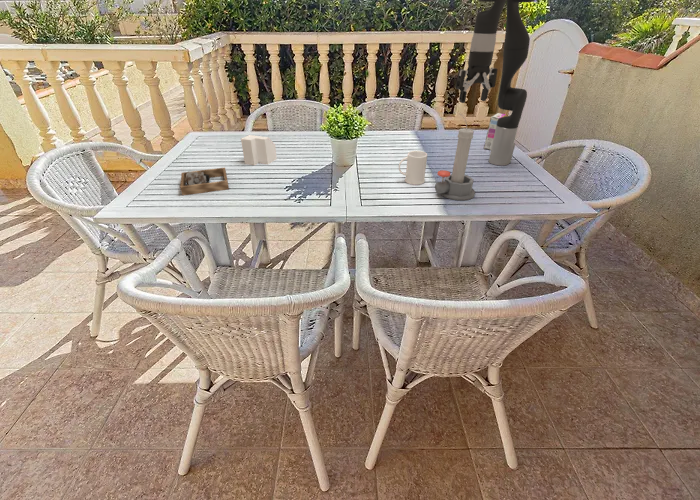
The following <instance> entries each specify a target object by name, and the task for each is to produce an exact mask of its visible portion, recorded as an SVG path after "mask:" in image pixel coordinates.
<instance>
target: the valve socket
mask: <svg viewBox="0 0 700 500" xmlns="http://www.w3.org/2000/svg"><path fill="white" fill-rule="evenodd" d="M437 176H439V177H440V178H441V181H439V182H436V183H435V185H434V189H435V192H436V194H438V195H440V196H442V197H443V198H445V199H447V200H452V201H457V202H458V201H459V202H460V201H461V202H463V201H465V202H466V201H469V200H472V199H473V198H475V195H476V190H475V189H474V188H473V185H474V178H472V177H470V176H469V175H467V174H465V175H464V180H463V183H462V184H461V183H455V182H452V181H451V177H452V173H451V171H449V170H442V169H441V170H440V169H439V170H438V171H437Z"/></svg>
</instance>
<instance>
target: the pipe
mask: <svg viewBox="0 0 700 500" xmlns="http://www.w3.org/2000/svg"><path fill="white" fill-rule="evenodd" d="M459 115H460V116H462V114H461V113H459ZM462 119H464V122H465V126H466V128H459V130H458V134H457V143H456V144H457V145H456V150H455V156H454V160H453V161H454V162H453V167H452V172H451V174H452V177H451V181H452V182H455V183H461V184H462V183H463V180H464V175H466V171H467V170H466V168H467V164H468V158H469V154H470V149H471V145H472V144H471V143H472V140H473V139H474V130H473V129H472V128H468V123H467V120H466V117H465V116H462Z"/></svg>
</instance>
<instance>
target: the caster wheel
mask: <svg viewBox="0 0 700 500" xmlns="http://www.w3.org/2000/svg"><path fill="white" fill-rule="evenodd" d="M186 172H187V174H186V186H188V185H195V184H203V183H210V181H211V180H210V179H211V178H209V175H207V174H204V173H203V172H194V173H193V172H191V171H186Z"/></svg>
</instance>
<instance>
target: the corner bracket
mask: <svg viewBox="0 0 700 500" xmlns="http://www.w3.org/2000/svg"><path fill="white" fill-rule="evenodd" d="M240 142H241V148H242V154H243V160H244V165H249V166H256V165H258V164H263V165H270V164H271V163H273V162H275V161H276V160H278V157H277V148H276V143H274V141H272V139H271V138H270V137H269V136H268V137H267V136H260V135H254V134H253V135H252V134H249V135H246V136H244V137H242V138H241V139H240Z"/></svg>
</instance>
